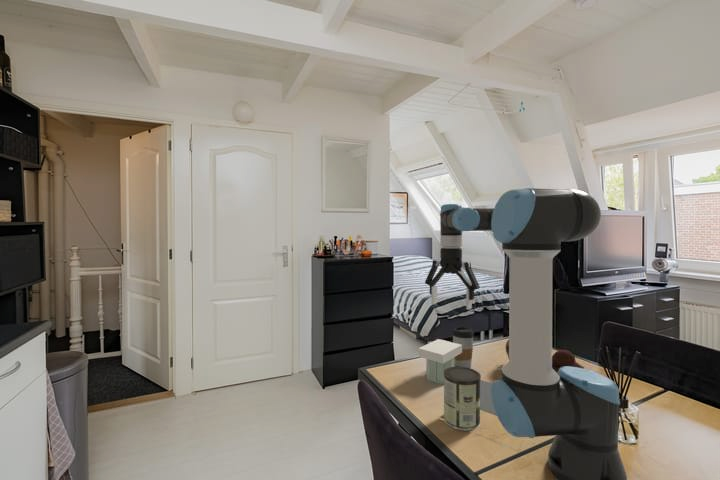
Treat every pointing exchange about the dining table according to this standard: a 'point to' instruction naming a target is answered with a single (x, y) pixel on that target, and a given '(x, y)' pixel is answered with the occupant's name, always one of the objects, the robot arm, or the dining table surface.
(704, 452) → the dining table surface
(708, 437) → the dining table surface
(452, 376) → the coffee can
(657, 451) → the dining table surface
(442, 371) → the ribbed green pot
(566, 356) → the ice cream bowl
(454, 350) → the lid
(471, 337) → the coffee cup
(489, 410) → the mat
